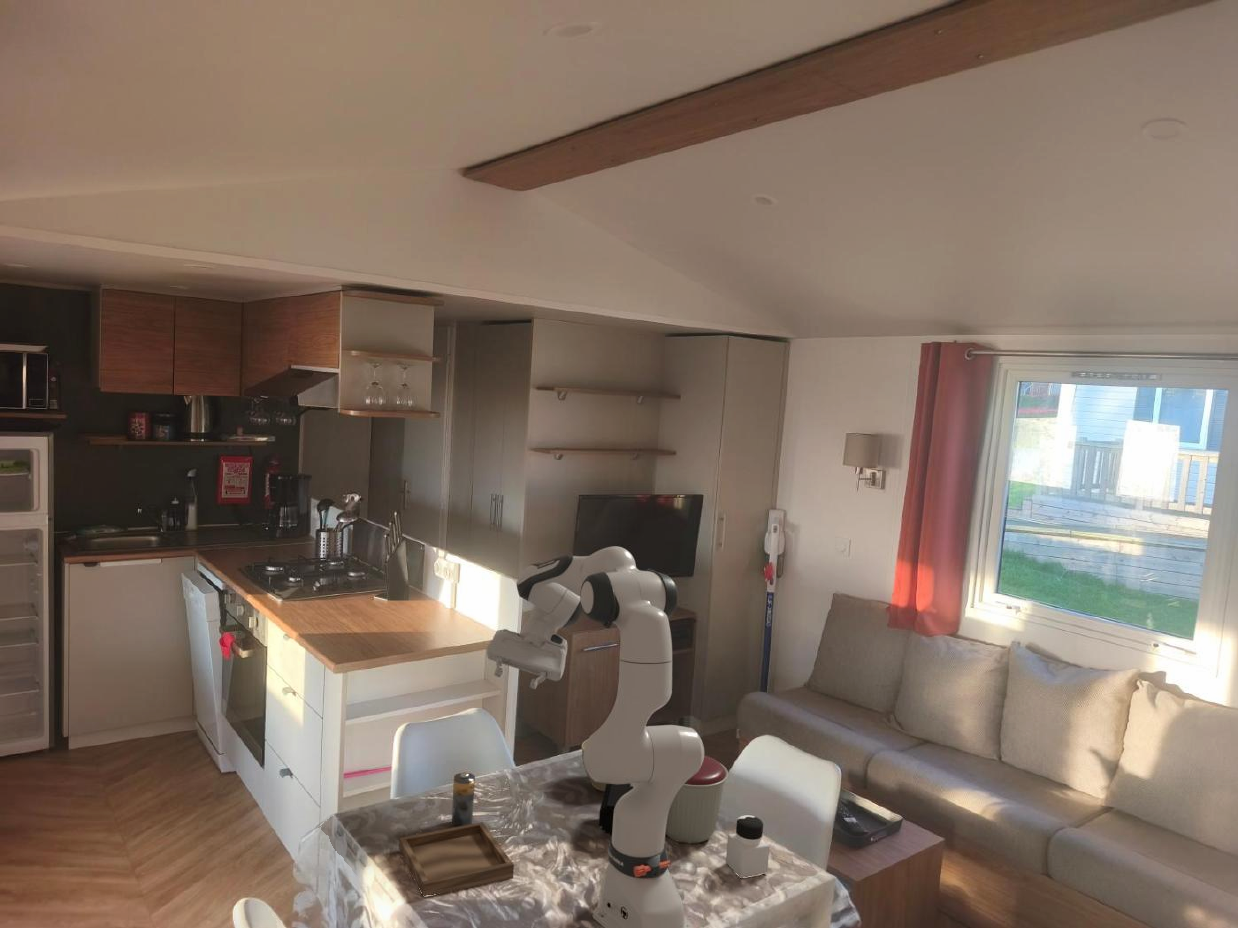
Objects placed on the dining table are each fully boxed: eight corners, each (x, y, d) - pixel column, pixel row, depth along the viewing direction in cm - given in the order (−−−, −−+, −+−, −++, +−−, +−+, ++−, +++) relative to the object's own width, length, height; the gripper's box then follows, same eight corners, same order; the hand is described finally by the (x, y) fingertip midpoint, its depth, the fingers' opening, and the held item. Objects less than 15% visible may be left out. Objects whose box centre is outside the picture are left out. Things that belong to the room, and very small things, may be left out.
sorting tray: (513, 877, 188) (513, 864, 188) (423, 897, 179) (424, 884, 179) (481, 833, 206) (482, 821, 206) (398, 850, 196) (399, 837, 196)
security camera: (631, 812, 222) (634, 775, 221) (625, 849, 203) (628, 809, 202) (605, 809, 222) (608, 772, 221) (596, 846, 204) (599, 806, 203)
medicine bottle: (767, 875, 197) (771, 824, 196) (740, 879, 194) (744, 828, 193) (751, 858, 203) (755, 810, 202) (725, 862, 201) (729, 813, 200)
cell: (475, 827, 209) (478, 776, 208) (454, 831, 206) (457, 780, 205) (468, 817, 213) (471, 767, 212) (448, 821, 211) (451, 771, 210)
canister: (727, 854, 204) (734, 769, 203) (651, 849, 204) (658, 764, 202) (718, 817, 222) (724, 738, 221) (648, 812, 222) (654, 734, 220)
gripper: (498, 619, 222) (475, 660, 212) (572, 643, 218) (553, 685, 208) (498, 634, 226) (476, 675, 216) (571, 658, 222) (552, 701, 212)
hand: (514, 681), depth 212 cm, fingers open, 8 cm apart
